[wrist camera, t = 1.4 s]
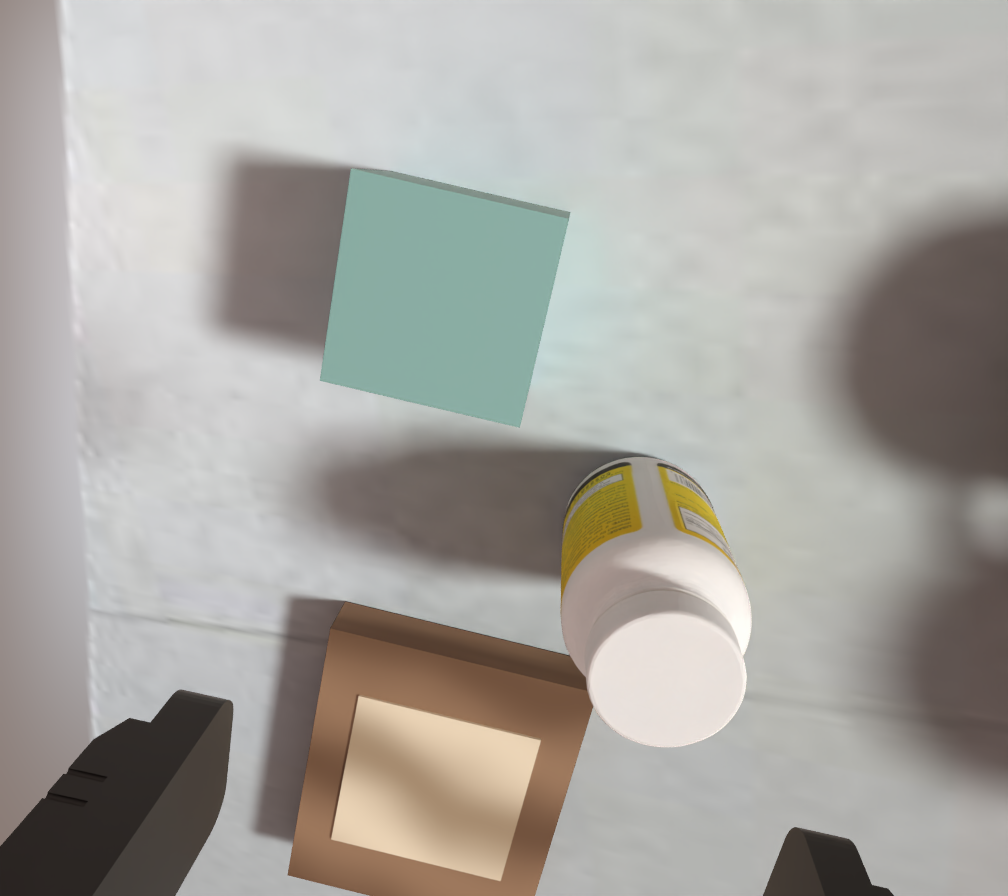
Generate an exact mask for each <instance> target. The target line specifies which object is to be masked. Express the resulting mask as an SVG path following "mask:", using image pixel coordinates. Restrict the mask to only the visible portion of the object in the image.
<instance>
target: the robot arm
mask: <svg viewBox="0 0 1008 896" xmlns="http://www.w3.org/2000/svg"><path fill="white" fill-rule="evenodd" d="M232 720H233V703H232V701H230V700H226V699H222V698H217V697H213V696H208V695H204V694H199V693H195V692H190V691H186V690H178V691H176V692H175V693H174V694H173V695H172V696H171V697H170V699H169V700H168V701H167V702H166V704H165V705H164V706H163V708H162V709H161V710H160V711H159V713H158V714H157V715H156V716H155V718H154V719H153V720H152V721H151V723H149V722H145V721H140V720H136V719H131V718H129V719H127V720H125V721H124V722H122V723H120V724H119V725H117V726H115V727H114V728H112V729H110V730H109V731H107V732H105V733H104V734H102V735H100V736H98V737H97V738H95V739H94V740H93V741H92V742H91V743H90V744H89V745H88V747H87V748H86V749H85V750H84V751H83V752H82V754H80V756H79V757H78V758H77V759H76V760H75V761H74V763H73V764H72V765H71V766H70V767H69V769H68V772H67V774H63V775H62V776H61V777H60V779H59V780H58V781H57V782H56V783H55V784H54V785H53V787H52V788H51V789H50V790H49V791H48V794H47V796H46V798H45V799H43V798H42V799H41V800H40V802H39V803H38V804H37V805H36V806H35V807H34V809H33V810H32V811H31V812H30V813H29V814H28V815H27V816H26V818H25V819H24V820H23V821H22V822H21V823H20V825H19V826H18V827H17V828H16V829H15V830H14V831H13V833H12V834H11V835H10V836H9V837H8V838H7V839H6V841H5V842H4V843H3V844H2V845H1V846H0V896H175V895H176V893H177V892H178V890H179V888H180V886H181V885H182V883H183V881H184V879H185V877H186V876H187V874H188V872H189V870H190V869H191V867H192V865H193V863H194V862H195V860H196V858H197V856H198V855H199V853H200V851H201V849H202V847H203V846H204V844H205V842H206V840H207V839H208V837H209V835H210V833H211V831H212V829H213V827H214V825H215V822H216V820H217V818H218V815H219V812H220V809H221V806H222V802H223V799H224V795H225V790H226V783H227V772H228V762H229V752H230V741H231V731H232ZM763 896H894V895H893V894H892V893H891V892H890V890H889V889H887V888H883V887H878V886H874V885H872V884H871V882H870V879H869V877H868V875H867V872H866V870H865V867H864V865H863V862H862V860H861V858H860V855H859V853H858V850H857V848H856V846H855V845H854V843H853V842H852V841H851V840H849V839H847V838H842V837H838V836H833V835H829V834H824V833H820V832H815V831H811V830H806V829H802V828H797V827H794V828H792V829H791V830H790V831H789V833H788V834H787V836H786V838H785V841H784V843H783V846H782V848H781V851H780V853H779V856H778V858H777V861H776V864H775V866H774V869H773V871H772V874H771V876H770V879H769V881H768V884H767V887H766V889H765V892H764V894H763Z"/></svg>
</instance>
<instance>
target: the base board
mask: <svg viewBox="0 0 1008 896" xmlns="http://www.w3.org/2000/svg"><path fill="white" fill-rule="evenodd" d="M592 708H593V705H592V703H591V700H590V698H589V694H588V691H587V683H586V677H585V676H584V675H583V674H582V673H581V671H580V670H579V669H578V668H577V666H576V665H575V663H574V661H573V660H572V658H571V656H568V655H563V654H559V653H555V652H551V651H547V650H543V649H539V648H535V647H530V646H526V645H522V644H518V643H514V642H510V641H506V640H502V639H498V638H493V637H489V636H485V635H481V634H477V633H473V632H469V631H465V630H461V629H456V628H452V627H448V626H444V625H440V624H436V623H432V622H428V621H423V620H419V619H415V618H411V617H407V616H403V615H399V614H395V613H391V612H386V611H382V610H378V609H374V608H370V607H366V606H362V605H358V604H353V603H349V602H345V603H344V605H343V607H342V608H341V610H340V612H339V614H338V616H337V617H336V619H335V621H334V623H333V625H332V626H331V628H330V634H329V639H328V645H327V651H326V657H325V662H324V668H323V674H322V680H321V686H320V691H319V697H318V703H317V709H316V714H315V720H314V726H313V732H312V737H311V743H310V749H309V755H308V761H307V766H306V772H305V778H304V784H303V789H302V795H301V801H300V807H299V812H298V818H297V824H296V830H295V835H294V841H293V847H292V853H291V859H290V864H289V870H288V875H289V876H293V877H297V878H301V879H305V880H309V881H313V882H317V883H321V884H325V885H329V886H333V887H337V888H341V889H345V890H349V891H353V892H357V893H361V894H366V895H370V896H535V893H536V890H537V887H538V884H539V880H540V877H541V874H542V871H543V867H544V864H545V861H546V858H547V854H548V851H549V848H550V845H551V841H552V838H553V835H554V832H555V828H556V825H557V822H558V819H559V815H560V812H561V809H562V806H563V802H564V799H565V796H566V793H567V789H568V786H569V783H570V780H571V776H572V773H573V770H574V767H575V763H576V760H577V757H578V754H579V750H580V747H581V744H582V741H583V737H584V734H585V731H586V728H587V725H588V721H589V718H590V715H591V712H592Z"/></svg>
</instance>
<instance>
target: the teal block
mask: <svg viewBox="0 0 1008 896" xmlns="http://www.w3.org/2000/svg"><path fill="white" fill-rule="evenodd" d="M569 217H570V212H566V211H562V210H558V209H553V208H549V207H545V206H540V205H536V204H532V203H527V202H523V201H519V200H514V199H510V198H506V197H501V196H497V195H493V194H488V193H484V192H480V191H475V190H471V189H467V188H462V187H458V186H454V185H449V184H445V183H441V182H436V181H432V180H428V179H423V178H419V177H415V176H410V175H406V174H402V173H397V172H393V171H383V170H368V169H352V168H351V172H350V179H349V186H348V193H347V199H346V206H345V213H344V220H343V227H342V233H341V240H340V247H339V254H338V261H337V267H336V274H335V281H334V288H333V295H332V302H331V308H330V315H329V322H328V329H327V336H326V342H325V349H324V356H323V363H322V370H321V376H320V381H324V382H328V383H332V384H336V385H341V386H345V387H349V388H353V389H358V390H362V391H366V392H370V393H375V394H379V395H383V396H387V397H392V398H396V399H400V400H404V401H409V402H413V403H417V404H421V405H426V406H430V407H434V408H438V409H443V410H447V411H451V412H455V413H460V414H464V415H468V416H472V417H477V418H481V419H485V420H489V421H494V422H498V423H502V424H506V425H511V426H515V427H519V428H520V424H521V420H522V416H523V412H524V408H525V403H526V399H527V395H528V391H529V387H530V382H531V378H532V374H533V370H534V365H535V361H536V357H537V353H538V348H539V344H540V340H541V336H542V331H543V327H544V323H545V319H546V314H547V310H548V306H549V302H550V297H551V293H552V289H553V285H554V280H555V276H556V272H557V268H558V263H559V259H560V255H561V251H562V246H563V242H564V238H565V234H566V229H567V225H568V221H569Z"/></svg>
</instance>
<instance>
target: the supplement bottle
mask: <svg viewBox="0 0 1008 896" xmlns="http://www.w3.org/2000/svg"><path fill="white" fill-rule="evenodd" d="M561 567H562V568H561V624H562V632H563V637H564V641H565V645H566V647H567V650H568V652H569V654H570V656H571V658H572V660H573V661H574V663H575V665H576V666H577V668H578V669H579V670H580V671H581V673H582V674H583V675H584V676H585V677H586V683H587V691H588V694H589V698H590V700H591V703H592V705H593V707H594V709H595V711H596V712H597V714H598V715H599V717H600V718H601V719H602V720H603V721H604V722H605V723H606V724H607V725H608V726H609V727H610V728H612V729H613V730H614V731H615V732H617V733H618V734H620V735H622V736H623V737H625V738H627V739H630V740H632V741H634V742H638V743H641V744H644V745H649V746H655V747H678V746H684V745H689V744H692V743H695V742H698V741H701V740H703V739H705V738H707V737H710V736H711V735H713V734H715V733H716V732H718V731H719V730H720V729H722V728H723V727H724V726H725V725H726V724H727V723H728V722H729V721H730V720H731V719H732V717H733V716H734V715H735V713H736V712H737V710H738V708H739V706H740V704H741V702H742V700H743V697H744V694H745V690H746V678H747V674H746V667H745V662H744V659H743V655H744V653H745V651H746V648H747V646H748V642H749V638H750V634H751V621H752V618H751V606H750V601H749V597H748V593H747V590H746V587H745V584H744V582H743V579H742V577H741V574H740V572H739V570H738V567H737V565H736V563H735V560H734V558H733V555H732V553H731V550H730V548H729V546H728V543H727V541H726V538H725V536H724V533H723V531H722V529H721V526H720V524H719V522H718V519H717V517H716V514H715V512H714V510H713V507H712V504H711V502H710V500H709V499H708V497H707V495H706V494H705V492H704V490H703V489H702V488H701V486H700V485H699V484H698V482H697V481H696V480H695V479H694V478H693V477H692V476H690V475H689V474H688V473H687V472H685V471H684V470H683V469H681V468H679V467H678V466H676V465H674V464H671V463H669V462H667V461H663V460H660V459H655V458H649V457H630V458H623V459H619V460H616V461H613V462H610V463H607V464H605V465H603V466H601V467H599V468H598V469H596V470H595V471H593V472H592V473H590V474H589V475H588V476H587V477H586V478H585V479H584V480H583V481H582V482H581V483H580V484H579V485H578V487H577V488H576V489H575V491H574V492H573V494H572V496H571V498H570V500H569V502H568V505H567V508H566V511H565V515H564V522H563V537H562V563H561Z"/></svg>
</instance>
